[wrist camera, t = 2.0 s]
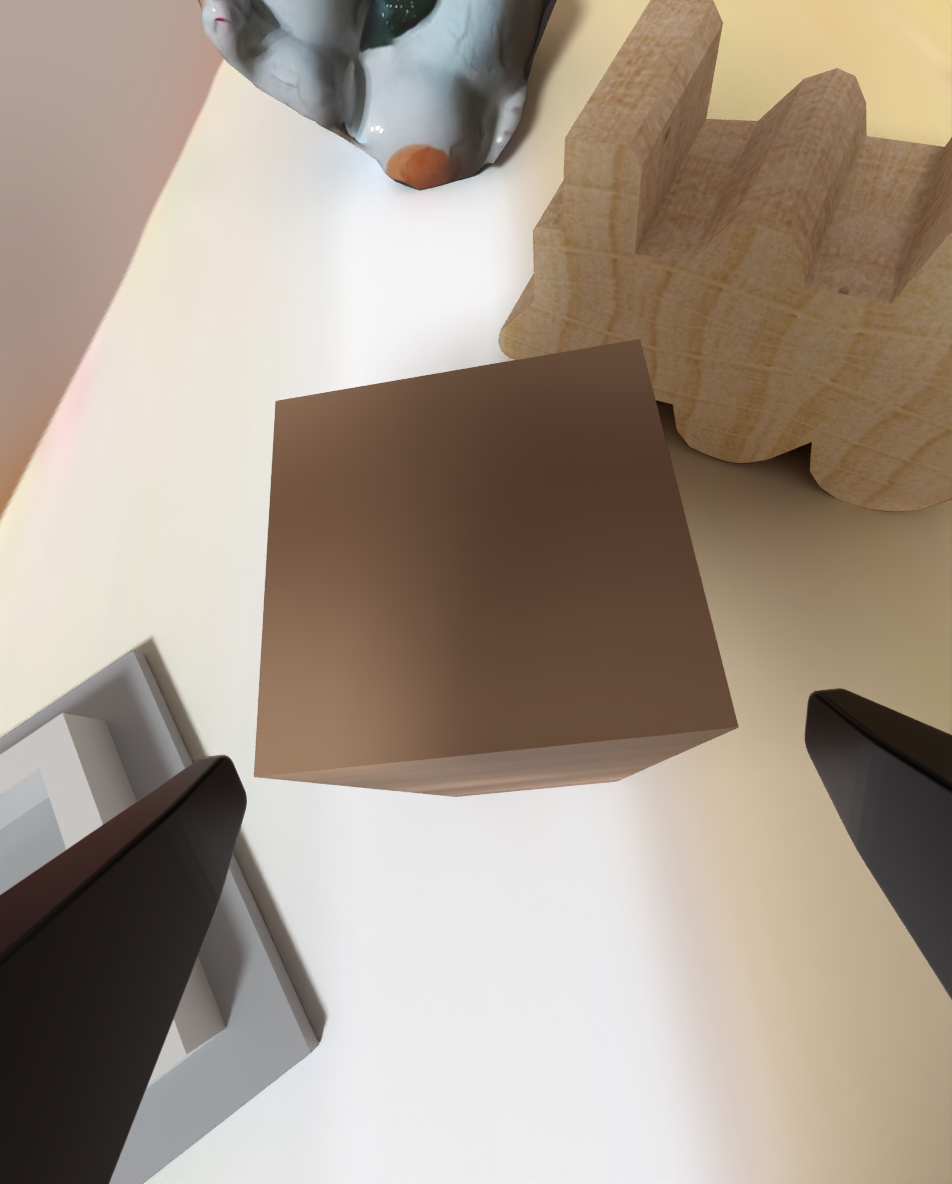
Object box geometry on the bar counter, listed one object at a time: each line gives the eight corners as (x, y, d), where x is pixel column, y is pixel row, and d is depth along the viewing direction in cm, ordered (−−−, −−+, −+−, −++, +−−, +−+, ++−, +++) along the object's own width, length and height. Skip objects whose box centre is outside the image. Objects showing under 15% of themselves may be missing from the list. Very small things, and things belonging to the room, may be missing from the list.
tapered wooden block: (617, 781, 17) (738, 728, 5) (455, 796, 18) (253, 776, 6) (590, 625, 19) (639, 338, 7) (445, 643, 19) (275, 401, 8)
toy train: (561, 299, 24) (561, -13, 15) (1012, 411, 20) (1417, 58, 10) (506, 398, 23) (468, 119, 14) (979, 544, 18) (1417, 271, 9)
